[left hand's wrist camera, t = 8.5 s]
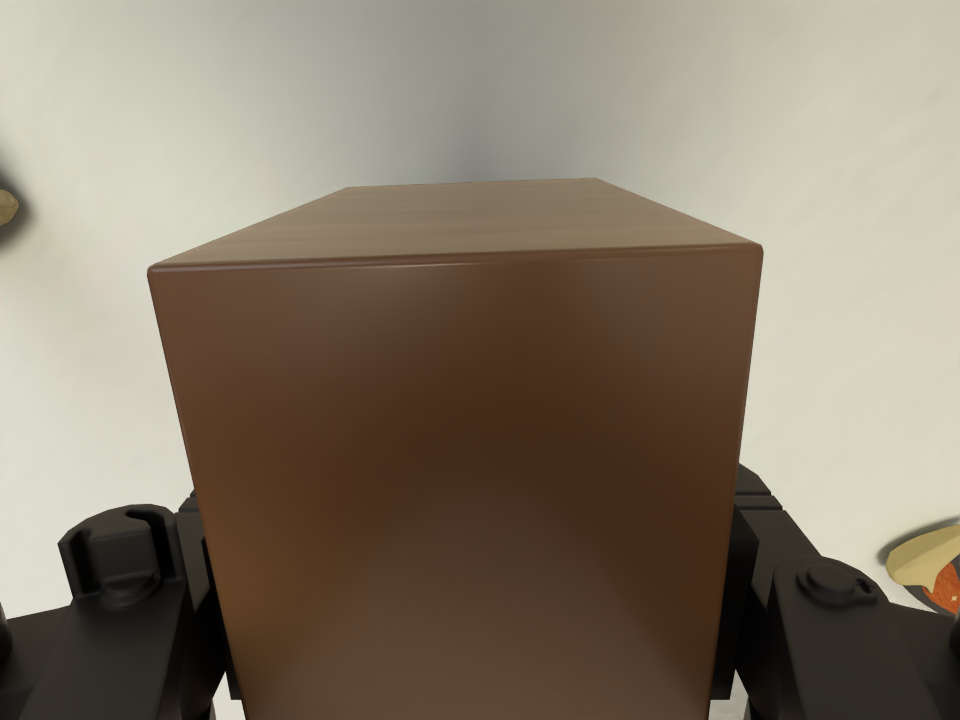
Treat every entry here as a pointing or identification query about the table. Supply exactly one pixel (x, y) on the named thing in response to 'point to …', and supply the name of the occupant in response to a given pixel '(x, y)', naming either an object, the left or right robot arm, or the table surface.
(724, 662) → the left robot arm
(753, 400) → the table surface
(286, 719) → the beam
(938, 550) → the toy gun
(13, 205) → the sculpture
